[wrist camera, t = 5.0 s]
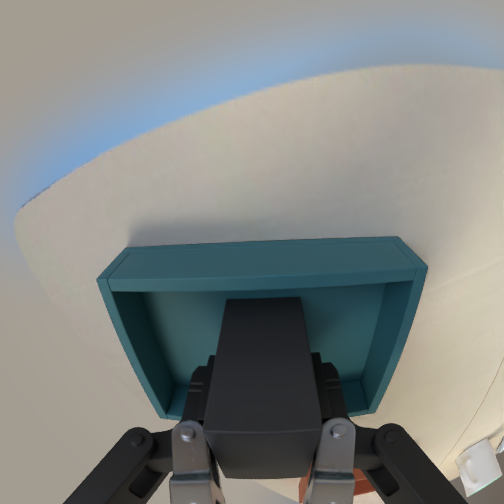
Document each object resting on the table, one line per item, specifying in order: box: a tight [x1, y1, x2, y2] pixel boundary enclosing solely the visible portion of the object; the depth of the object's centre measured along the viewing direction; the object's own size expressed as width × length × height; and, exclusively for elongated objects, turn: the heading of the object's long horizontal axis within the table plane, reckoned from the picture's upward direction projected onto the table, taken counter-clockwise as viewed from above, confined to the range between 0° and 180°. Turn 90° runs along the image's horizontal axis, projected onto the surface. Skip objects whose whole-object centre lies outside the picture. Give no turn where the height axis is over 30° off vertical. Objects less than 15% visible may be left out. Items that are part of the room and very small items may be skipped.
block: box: [203, 297, 323, 479], centre depth 11 cm, size 4×5×7 cm
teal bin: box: [97, 236, 428, 421], centre depth 13 cm, size 13×10×3 cm
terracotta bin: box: [299, 466, 376, 503], centre depth 24 cm, size 13×10×3 cm
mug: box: [455, 438, 502, 497], centre depth 25 cm, size 12×8×10 cm, turn 68°
